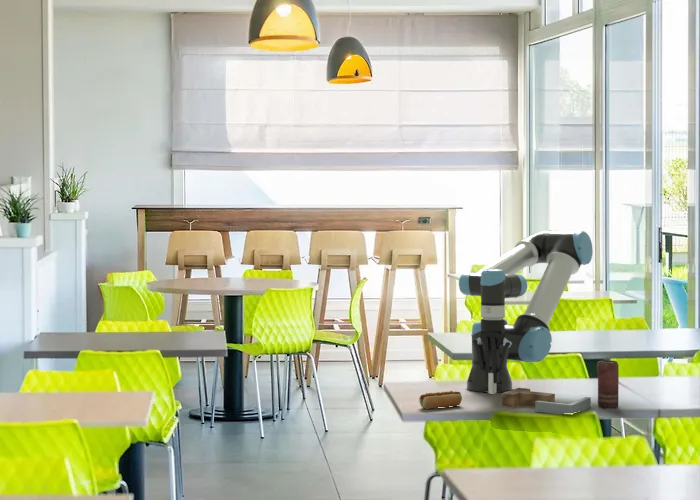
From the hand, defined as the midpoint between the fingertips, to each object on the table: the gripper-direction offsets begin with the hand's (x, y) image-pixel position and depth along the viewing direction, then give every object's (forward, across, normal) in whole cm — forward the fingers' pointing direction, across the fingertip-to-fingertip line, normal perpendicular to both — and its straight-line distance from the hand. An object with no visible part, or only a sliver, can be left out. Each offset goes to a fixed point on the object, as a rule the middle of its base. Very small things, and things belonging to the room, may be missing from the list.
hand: (492, 393), depth 336 cm
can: (+3, +34, +10) cm, 35 cm away
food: (+3, -9, -17) cm, 20 cm away
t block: (+3, +13, 0) cm, 13 cm away
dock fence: (+3, +24, -1) cm, 24 cm away
